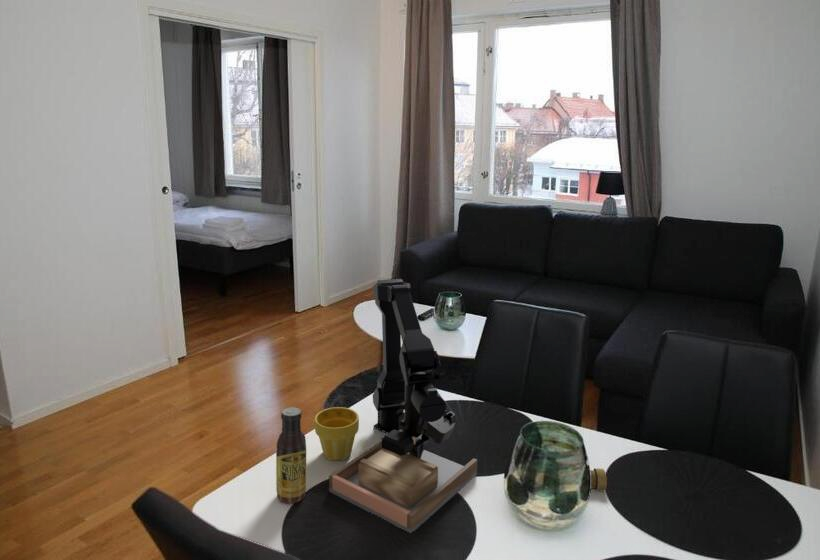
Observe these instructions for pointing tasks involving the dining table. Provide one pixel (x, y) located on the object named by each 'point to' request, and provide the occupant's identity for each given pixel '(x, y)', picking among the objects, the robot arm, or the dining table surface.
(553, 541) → the dining table surface
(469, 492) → the dining table surface
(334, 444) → the plant pot
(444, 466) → the bay
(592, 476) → the gavel
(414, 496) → the brown wooden box
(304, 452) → the sauce bottle
